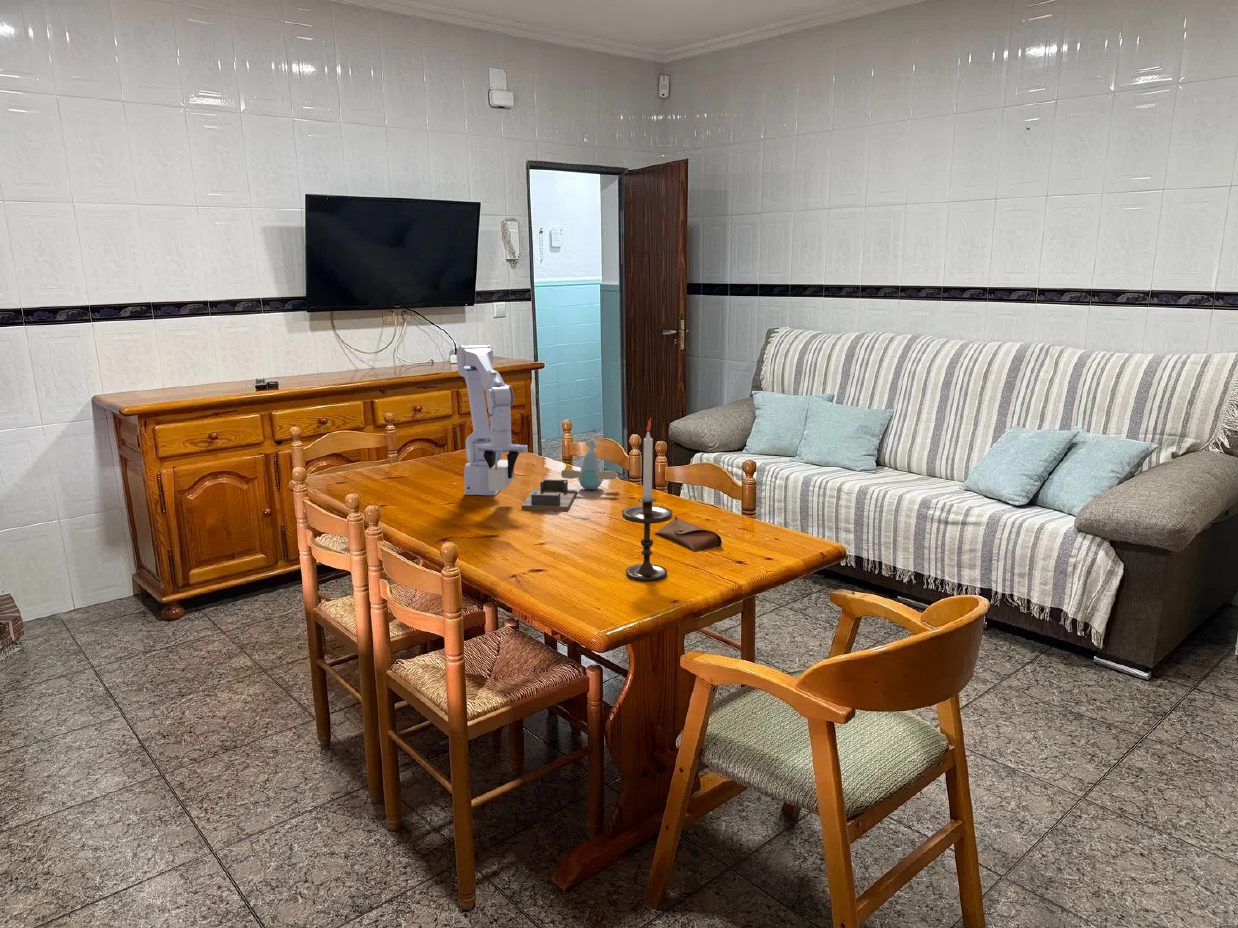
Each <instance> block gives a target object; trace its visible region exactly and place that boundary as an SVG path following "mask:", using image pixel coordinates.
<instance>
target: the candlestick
mask: <svg viewBox="0 0 1238 928" xmlns="http://www.w3.org/2000/svg"><path fill="white" fill-rule="evenodd" d="M647 424H648V425H647V427H646V435H645V438H643V472H642V473H643V474H642V475H643V479H642V482H643V483H642V484H643V486H642V487H643V488H642V489H643V490H642V497H641V498H638V502H640V503H642V504H639V505H638V504H637V505H631V506H628V507H625V508H623V509H622V511H621V516H622V519H624V520H626V521H627V522H631V523H637V524H643V538H642V539H641V540H640V545H641V546H642V549H643V550H642V551H640V552H641V553H640V554H641V555H642V556H643V562H642V563H638V564H633V565H631V566H629V567H627V568H626V570H625V577H627V578H628V579H630V580H632V581H635V582H640V583H641V582H642V583H653V582H660V581H662V580H664V579H666V578H667V577H668V570H667V568H665V567H664V566H662V565H657V564H652V563H651V560H650V559H651V558H650V557H651V555H653V551H652V550H651V547H652V546H654V545H653V544H654V540H653V539H651V524H659V523H660V524H661V523H665V522H667V521H671V519H673V510H672V509H671V508H668V507H666V506H661V505H655V504H653V503H654V502H657V500H658V499H656V498H653V445H654V444H653V442H654V441H653V438H652V437H651V434H650V431H651V427H652V417H649V420H648V421H647Z"/></svg>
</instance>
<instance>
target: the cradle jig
mask: <svg viewBox="0 0 1238 928" xmlns="http://www.w3.org/2000/svg"><path fill="white" fill-rule="evenodd" d="M568 480H569V479H546V478H545V479H543V478H542V479H541V481H540V482H539V484H540V485H539V486H540V488H536V487H535V488H533V489H532V491H531V492H530V493H529V495H528V496H527V497H526V499H525V500H524V501H523V503H522V504H521V510H523V511H524V510H525V511H554V512H555V511H557V512H560V511H562V512H565V511H566V512H568V511H569V509H570V508H571V506H572V503H573V502H574V500H575V498H576V496H577V494H578V489H577V488H576V489H572V488H571V489H570V488H569V489H568V487H569V484H568Z"/></svg>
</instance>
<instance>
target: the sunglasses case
mask: <svg viewBox="0 0 1238 928" xmlns="http://www.w3.org/2000/svg"><path fill="white" fill-rule="evenodd" d="M654 534H655V536H657V535H658V537H660V538H663V539H666V540H668V539H669V540H668V541H670V540H671V541H670V542H673V543H675V544H678V545H680V546H682V547H684V548H686V549H689V550H690V549H691V550H690V551H692V552H693V553H694V552H696V553H697V552H701V551H706V550H711V549H714V547H716V548H718V546H720V547H721V546H722V545H723V543H722V538H721V536H720V535H719V534H718V533H716V532H715V531H712V530H708V529H704V528H703V527H701V526H698V525H696V524H693V523H690V522H688V521H685V520H682V519H680V518H679V517H678V516H674V518H673V519H672V520H670V521H669V522H667V524H665V525H664V526H663V527H661V528H660V529H658V530H657V531H656V532H653V535H654ZM705 549H706V550H705Z"/></svg>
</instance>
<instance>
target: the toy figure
mask: <svg viewBox="0 0 1238 928" xmlns="http://www.w3.org/2000/svg"><path fill="white" fill-rule="evenodd" d="M585 445H586V446H587V447H588V450H587V452H586V453H585V454H584V457H583V461H582V465H581V468H580V470H575V469H562V470H561V472H560V476H561V477H562V478H563V479H567V480H570V479H577V481H578V482H579V484H580V486H581V487H582V488H584V489H585V490H588V491H591V490H592V491H593V490H596V489H598V488H599V487H600V486H601V484H602V482H604V480H608V481H609V480H611V481H612V480H615V479H616V478H617V477H618V476H619V475H618V473H617V472H616V471H614V470H602V471H601V469H600V467H599V466H600V461H599V460H598V458H597V455H596V453H595V451H594V449H596V448H598V446H599V443H598V442H596V440H595V439H594V438H590V439H589V440H585Z"/></svg>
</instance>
